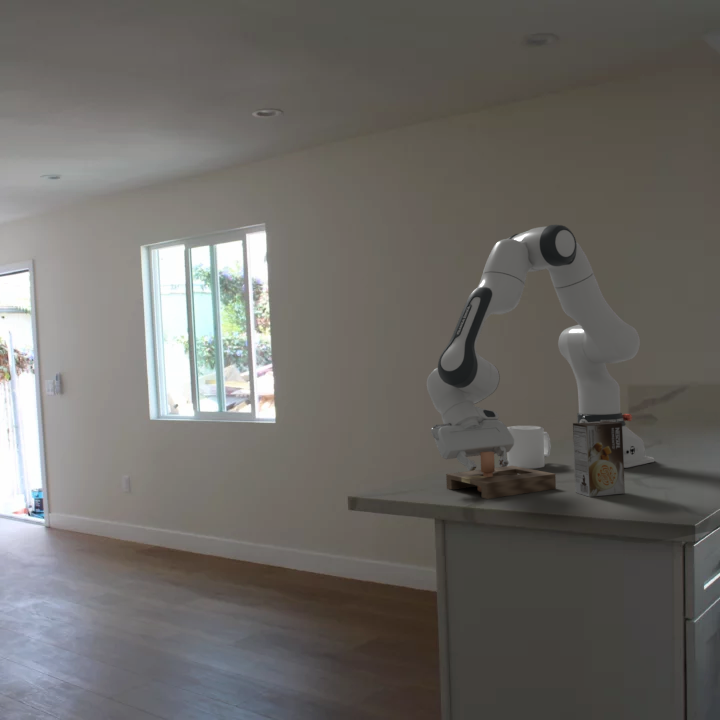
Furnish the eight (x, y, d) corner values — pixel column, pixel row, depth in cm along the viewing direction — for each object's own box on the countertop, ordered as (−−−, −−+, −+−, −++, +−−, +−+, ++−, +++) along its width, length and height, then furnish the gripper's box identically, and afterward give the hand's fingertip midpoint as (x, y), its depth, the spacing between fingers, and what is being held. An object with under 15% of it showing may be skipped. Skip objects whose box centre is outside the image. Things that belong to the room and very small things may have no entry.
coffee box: (609, 489, 186) (607, 420, 185) (625, 494, 179) (623, 422, 179) (574, 492, 183) (572, 422, 183) (589, 497, 177) (587, 425, 177)
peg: (490, 487, 192) (489, 450, 192) (503, 490, 188) (502, 452, 188) (473, 490, 190) (472, 452, 190) (486, 493, 186) (485, 454, 185)
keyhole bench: (512, 479, 202) (512, 465, 202) (555, 488, 188) (555, 473, 188) (446, 488, 193) (446, 473, 193) (487, 498, 179) (486, 483, 179)
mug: (534, 460, 233) (533, 423, 232) (561, 464, 224) (559, 426, 224) (499, 465, 225) (498, 427, 225) (526, 469, 217) (525, 430, 216)
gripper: (433, 417, 190) (457, 463, 181) (502, 411, 199) (528, 454, 191) (423, 434, 194) (447, 480, 185) (491, 427, 203) (517, 471, 195)
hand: (489, 467), depth 188 cm, fingers open, 8 cm apart
